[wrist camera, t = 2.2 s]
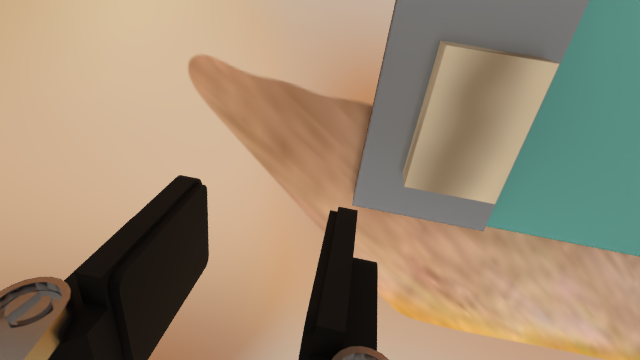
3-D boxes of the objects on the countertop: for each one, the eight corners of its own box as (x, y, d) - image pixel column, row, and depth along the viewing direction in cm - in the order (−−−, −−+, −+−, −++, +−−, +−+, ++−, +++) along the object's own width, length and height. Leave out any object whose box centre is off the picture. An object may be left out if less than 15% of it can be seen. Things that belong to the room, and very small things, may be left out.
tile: (544, 57, 20) (559, 64, 19) (487, 189, 25) (495, 204, 23) (440, 40, 21) (446, 45, 19) (402, 173, 25) (404, 186, 23)
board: (592, -49, 19) (613, -53, 18) (477, 216, 28) (483, 231, 26) (412, -75, 20) (415, -81, 18) (354, 192, 29) (352, 205, 27)
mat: (851, -11, 19) (879, -11, 18) (649, 250, 27) (659, 260, 26) (598, -48, 19) (610, -50, 18) (480, 216, 28) (484, 225, 27)
